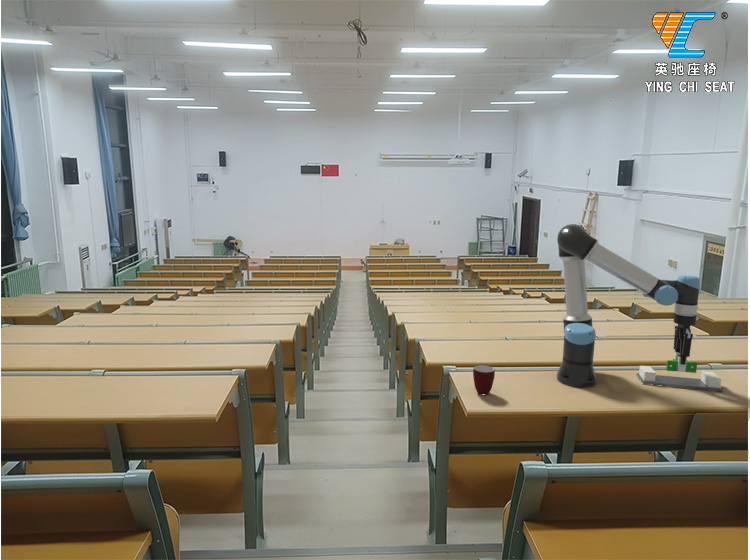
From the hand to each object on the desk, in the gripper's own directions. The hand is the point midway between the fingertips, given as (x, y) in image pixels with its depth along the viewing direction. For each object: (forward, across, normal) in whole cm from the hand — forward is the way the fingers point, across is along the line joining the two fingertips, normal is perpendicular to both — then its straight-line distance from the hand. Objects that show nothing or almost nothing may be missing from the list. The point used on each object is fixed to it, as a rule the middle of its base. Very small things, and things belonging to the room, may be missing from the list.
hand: (679, 369), depth 192 cm
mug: (+6, -33, +77) cm, 84 cm away
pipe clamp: (0, 0, 0) cm, 1 cm away
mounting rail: (+6, 0, 0) cm, 6 cm away
